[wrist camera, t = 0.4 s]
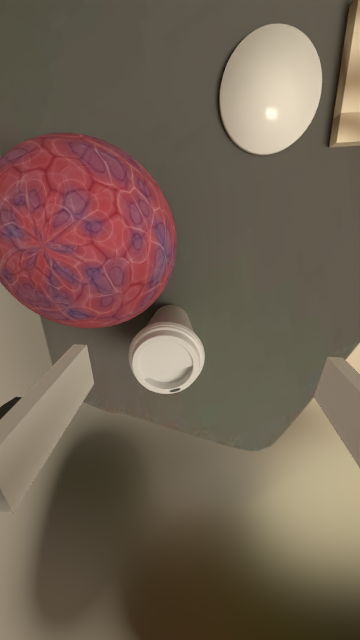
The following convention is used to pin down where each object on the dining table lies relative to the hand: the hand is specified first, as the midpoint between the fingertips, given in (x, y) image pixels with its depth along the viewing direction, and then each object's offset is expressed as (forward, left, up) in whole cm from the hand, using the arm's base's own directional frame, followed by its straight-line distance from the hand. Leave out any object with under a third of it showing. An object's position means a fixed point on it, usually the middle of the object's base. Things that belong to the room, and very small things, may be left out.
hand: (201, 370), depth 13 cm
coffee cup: (+7, -3, -27) cm, 28 cm away
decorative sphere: (-7, -11, -27) cm, 30 cm away
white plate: (-24, +12, -27) cm, 38 cm away
